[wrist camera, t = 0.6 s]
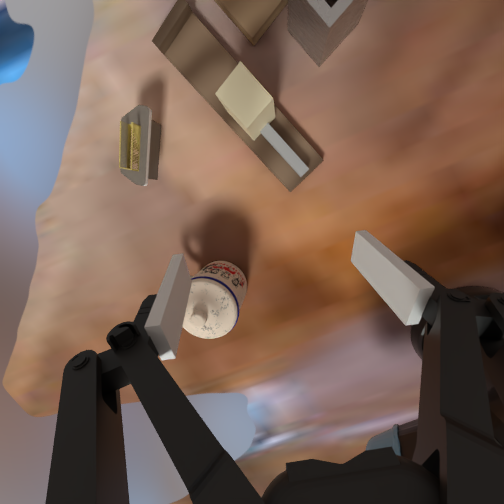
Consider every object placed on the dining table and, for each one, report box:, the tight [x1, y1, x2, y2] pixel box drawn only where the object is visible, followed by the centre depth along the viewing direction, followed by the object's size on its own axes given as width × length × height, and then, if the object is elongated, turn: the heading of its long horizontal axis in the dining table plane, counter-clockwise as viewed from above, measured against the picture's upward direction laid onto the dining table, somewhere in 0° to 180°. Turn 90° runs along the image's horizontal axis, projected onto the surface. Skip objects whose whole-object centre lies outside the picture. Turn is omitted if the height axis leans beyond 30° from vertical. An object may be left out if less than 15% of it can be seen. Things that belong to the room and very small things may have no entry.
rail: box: [152, 0, 323, 192], centre depth 30 cm, size 26×6×2 cm, turn 45°
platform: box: [119, 105, 161, 186], centre depth 31 cm, size 12×18×7 cm, turn 169°
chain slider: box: [215, 61, 309, 177], centre depth 27 cm, size 13×4×6 cm, turn 45°
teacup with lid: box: [182, 261, 247, 339], centre depth 33 cm, size 12×9×12 cm
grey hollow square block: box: [287, 0, 368, 67], centre depth 24 cm, size 6×6×7 cm
